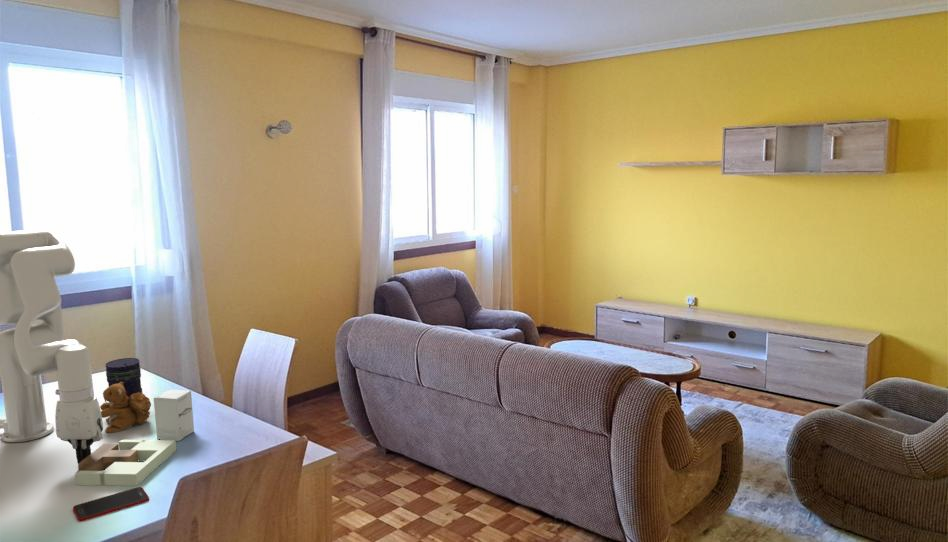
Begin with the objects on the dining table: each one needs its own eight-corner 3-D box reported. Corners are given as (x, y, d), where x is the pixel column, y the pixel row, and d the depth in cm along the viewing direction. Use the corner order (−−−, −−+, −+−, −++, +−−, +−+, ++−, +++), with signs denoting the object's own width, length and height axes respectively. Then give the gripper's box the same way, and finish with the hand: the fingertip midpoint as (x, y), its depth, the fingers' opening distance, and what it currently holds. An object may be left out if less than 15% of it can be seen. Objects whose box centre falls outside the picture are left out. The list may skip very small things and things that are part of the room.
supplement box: (179, 441, 190) (175, 399, 188) (156, 439, 192) (152, 397, 190) (195, 431, 197) (191, 390, 195) (172, 429, 199) (169, 388, 197)
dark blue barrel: (106, 406, 218) (101, 362, 215) (138, 399, 224) (134, 355, 222) (114, 415, 211) (109, 369, 208) (148, 407, 217) (143, 362, 215)
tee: (79, 477, 170) (77, 463, 169) (104, 456, 181) (103, 443, 181) (123, 476, 170) (121, 463, 169) (145, 455, 181) (144, 443, 181)
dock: (77, 484, 165) (75, 473, 165) (122, 450, 185) (121, 439, 185) (136, 485, 165) (135, 474, 164) (176, 450, 184) (175, 440, 184)
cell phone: (72, 510, 154) (71, 506, 154) (141, 489, 163) (141, 485, 163) (78, 523, 148) (78, 519, 148) (150, 501, 158) (150, 498, 157)
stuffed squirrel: (105, 422, 205) (100, 380, 203) (155, 416, 210) (152, 375, 207) (98, 434, 196) (93, 391, 194) (151, 428, 200) (147, 385, 198)
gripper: (38, 398, 169) (46, 467, 172) (96, 399, 168) (103, 468, 171) (58, 388, 176) (66, 454, 179) (113, 389, 175) (120, 455, 178)
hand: (84, 461), depth 175 cm, fingers closed
